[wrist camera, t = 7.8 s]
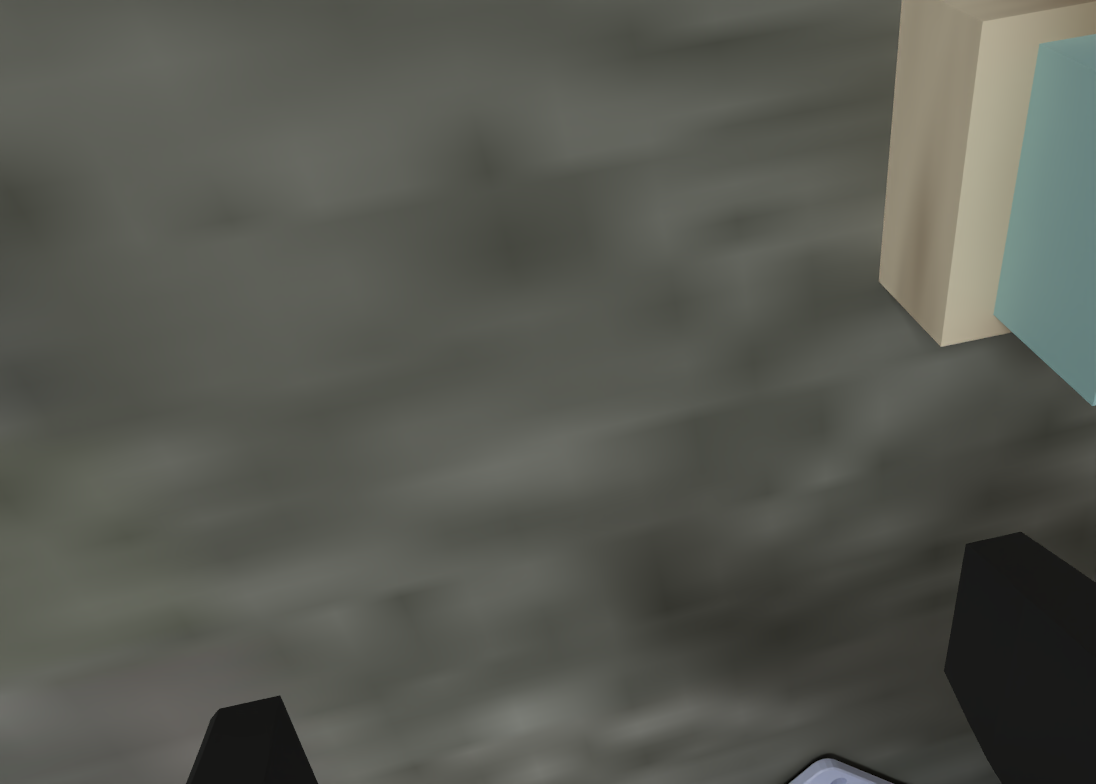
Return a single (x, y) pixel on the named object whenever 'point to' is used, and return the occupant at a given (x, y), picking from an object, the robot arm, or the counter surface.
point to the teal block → (1056, 218)
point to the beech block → (961, 152)
